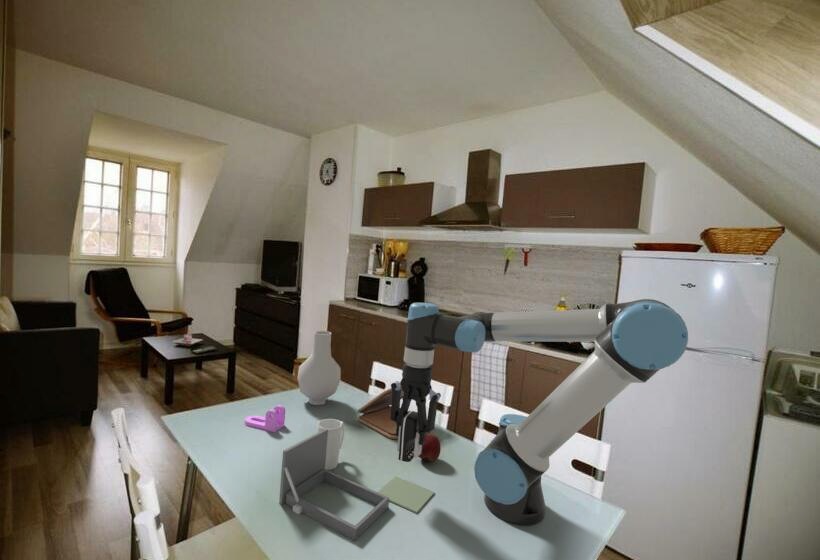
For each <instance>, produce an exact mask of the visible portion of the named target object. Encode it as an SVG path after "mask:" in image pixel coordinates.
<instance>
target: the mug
mask: <svg viewBox="0 0 820 560" xmlns="http://www.w3.org/2000/svg"><path fill="white" fill-rule="evenodd" d="M324 429H328V437H327V449H326V461H325V469H326V470H328V471H331V470H334V469H335V468H337V467H338V464H339V455H340V450H341V448H342V445H343V442H344V438H345V432H346V430H345V424H344V421H341V420H340V419H335V418H326V419H325V418H323V419H322V420H320V421H318V423H317V431H316V434H317V433H318V432H320V431H322V430H324Z"/></svg>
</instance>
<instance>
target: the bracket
mask: <svg viewBox="0 0 820 560" xmlns="http://www.w3.org/2000/svg"><path fill="white" fill-rule="evenodd" d="M285 421H286V408H285V407H284V405H282V404H278V405H276V406H274V408H270V409H269V410H268V411H266V413H265V416H261V415H257V414H256V415H249V416H247V417H245V418H244V425H245V426H248V427H252V428H257V429H260V430H264V431H267V432H271V433H272V432H273V433H276V432H278V431H279V430H280V429H282V428H283V427H284V426H285V424H286V423H285Z"/></svg>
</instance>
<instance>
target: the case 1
mask: <svg viewBox="0 0 820 560" xmlns="http://www.w3.org/2000/svg"><path fill="white" fill-rule="evenodd" d="M327 437H328V429H324V430H322V431H320V432H318V433H317V432H316V433H315V434H313V435H311V436H309V437H307V438H304V439H303V440H301V441H299V442H297V443H295V444H293V445H291V446H290V447H287V448H286V449H284V450H282V461H281V473H280V476H281V477H280V485H279V486H280V487H279V503H278V504H280V505H283V504H284V503H285V505H288V506H290V507H292V512H294V513H295V514H297V515H300V514H301V513H302V514H305V515H307V516H309V517H310V518H312V519H314V520H315V521H318V522H319V523H322V524H324V526H325V525H326V526H327V527H329V528H331V529H333V530H335V531H337V532H339V533H341V534H343V535H344V536H345V537H348V538H350V539H352V540H353V541H356V540H357V539H358V538H359V537H360V536H361V535H362V534H363V533H364V532H365V531H366V530H367V529H368V528H369V527H370V526H372V524H374V522H375V521H376V520H378V518H380V516H381V515H382V514H384V513H385V512H386V511H387V509H389V505H390V501H389V497H387V496H384V495H382V494H380V493H378V491H375V490H373V489H371V488H368V487H366V486H364V485H361V484H359V483H358V482H355V481H354V480H353V481H352V480H350V479H348V478H347V477H346V478H345V477H344V476H342V475H339V474H337V473H335V472H332V471H331V470H326V469H325V461H326V449H327ZM322 482H327V483H329V484H331V485H334V486H336V487H338V488H340V489H342V490H345V491H346V492H349V493H351V494H353V495H354V496H356V497H359V498H362V499H363V500H366V501H369V502H371V503H372V504H375V507H374V508H373V509H371V510H370V511H369V512H368V513H367V514H366V515H365V516H364V517H363V518H361V519H360V521H359V522H357V523H356V524H355V525H354V524H353V523H351V522H349V521H347V520H345V519H343V518H342V517H339V516H337V515H335V514H334V513H331V512H329V511H328V510H325V509H323V508H321V507H319V506H318V505H316V504H314V503H312V502H310V501H308V500H306V499H304V498H302V496H303V495H304V494H306V493H307V492H309V491H311V489H313V488H315V487H317V486H318V485H319V484H321V483H322Z"/></svg>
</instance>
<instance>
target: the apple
mask: <svg viewBox="0 0 820 560" xmlns="http://www.w3.org/2000/svg"><path fill="white" fill-rule="evenodd" d="M441 447H442V446H441V441H440V439H439V438H438V437H437V436H436V435H435V434H431V433H426V442H425V443H424V444H423V445H422V450H421V454H420V455H419V456H418V457H417V458H420V459H421V460H423V462H435V461H436V460H437V459H438V458H439V457H440V454H441Z"/></svg>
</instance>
